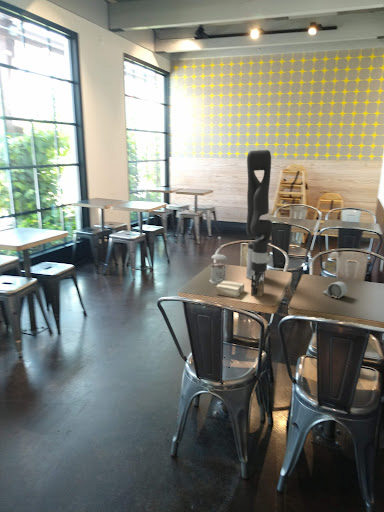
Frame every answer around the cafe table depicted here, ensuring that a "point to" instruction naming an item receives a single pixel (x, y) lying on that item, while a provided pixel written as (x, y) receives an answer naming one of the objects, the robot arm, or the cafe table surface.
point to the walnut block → (259, 289)
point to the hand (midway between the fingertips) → (257, 292)
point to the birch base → (230, 288)
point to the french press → (216, 273)
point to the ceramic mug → (336, 289)
